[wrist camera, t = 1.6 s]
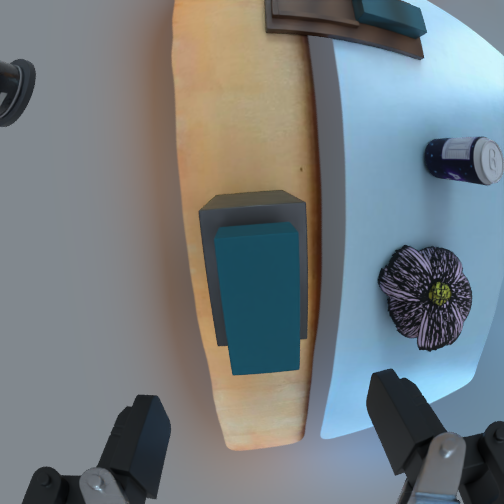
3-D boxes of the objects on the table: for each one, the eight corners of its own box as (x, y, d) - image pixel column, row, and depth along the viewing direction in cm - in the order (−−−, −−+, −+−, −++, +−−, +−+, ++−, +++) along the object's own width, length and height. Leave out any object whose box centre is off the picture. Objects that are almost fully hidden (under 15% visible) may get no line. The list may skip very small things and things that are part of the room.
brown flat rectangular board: (265, 32, 27) (268, 16, 22) (263, -22, 23) (265, -39, 19) (420, 60, 27) (436, 52, 23) (407, 6, 24) (420, -4, 20)
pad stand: (215, 195, 33) (193, 214, 18) (282, 189, 33) (312, 205, 18) (225, 288, 36) (215, 360, 22) (287, 283, 36) (311, 352, 22)
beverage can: (421, 176, 32) (479, 184, 21) (420, 136, 31) (478, 132, 19) (448, 179, 32) (505, 188, 21) (448, 142, 31) (504, 141, 19)
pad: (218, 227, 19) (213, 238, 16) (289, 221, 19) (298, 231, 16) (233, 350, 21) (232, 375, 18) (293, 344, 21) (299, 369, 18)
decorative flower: (480, 229, 25) (489, 341, 24) (449, 229, 36) (461, 316, 35) (378, 259, 29) (395, 372, 29) (369, 251, 40) (385, 339, 40)
